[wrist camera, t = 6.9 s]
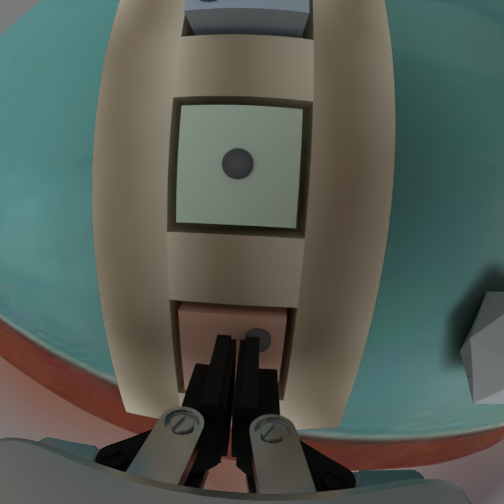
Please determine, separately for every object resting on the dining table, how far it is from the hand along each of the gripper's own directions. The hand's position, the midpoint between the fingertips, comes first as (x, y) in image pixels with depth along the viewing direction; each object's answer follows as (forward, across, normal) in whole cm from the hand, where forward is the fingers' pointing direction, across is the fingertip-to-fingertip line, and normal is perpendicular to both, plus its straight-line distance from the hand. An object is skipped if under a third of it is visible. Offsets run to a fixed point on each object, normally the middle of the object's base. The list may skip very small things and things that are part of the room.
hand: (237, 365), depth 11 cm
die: (+5, -19, +1) cm, 19 cm away
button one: (+4, 0, -8) cm, 9 cm away
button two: (+4, 0, 0) cm, 4 cm away
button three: (+2, 0, -16) cm, 16 cm away
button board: (+5, 0, -8) cm, 9 cm away
